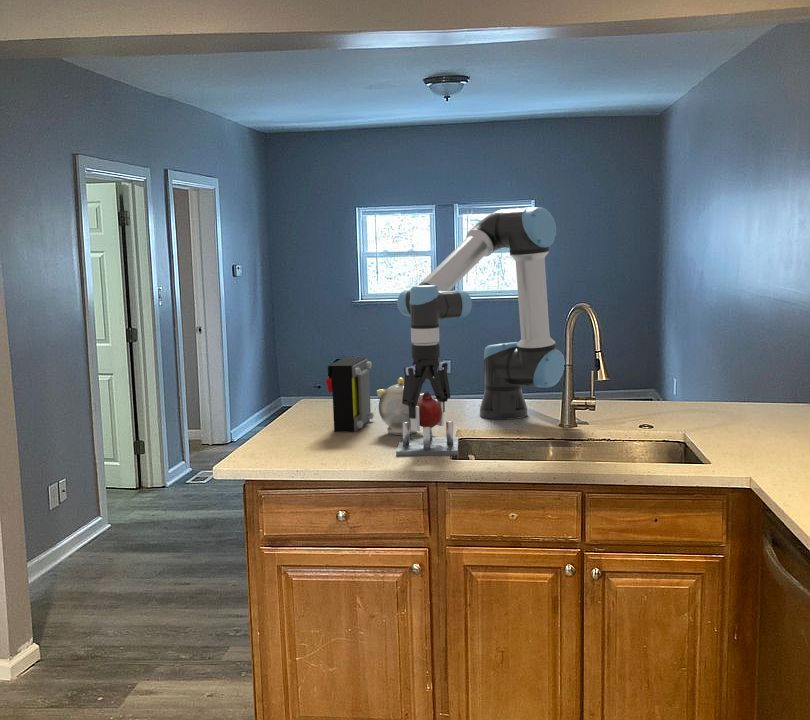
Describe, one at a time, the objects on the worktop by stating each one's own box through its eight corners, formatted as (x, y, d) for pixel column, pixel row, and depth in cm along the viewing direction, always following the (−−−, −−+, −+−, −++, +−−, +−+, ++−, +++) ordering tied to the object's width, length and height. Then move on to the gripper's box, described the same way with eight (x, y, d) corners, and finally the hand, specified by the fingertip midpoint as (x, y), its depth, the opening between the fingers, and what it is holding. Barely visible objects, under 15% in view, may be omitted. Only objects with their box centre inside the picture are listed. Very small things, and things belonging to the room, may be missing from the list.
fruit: (445, 425, 231) (444, 389, 229) (439, 432, 223) (438, 394, 222) (416, 425, 233) (415, 389, 231) (409, 431, 225) (408, 394, 223)
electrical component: (361, 432, 251) (358, 365, 249) (328, 431, 254) (325, 365, 251) (374, 420, 269) (372, 357, 266) (343, 419, 271) (341, 358, 268)
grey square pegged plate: (458, 441, 236) (457, 415, 235) (457, 455, 220) (456, 428, 219) (401, 442, 237) (400, 416, 236) (396, 455, 221) (395, 428, 220)
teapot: (372, 437, 244) (370, 381, 242) (382, 427, 257) (380, 374, 255) (434, 438, 240) (432, 381, 238) (441, 428, 254) (439, 374, 252)
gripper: (444, 339, 234) (445, 420, 237) (386, 346, 221) (388, 431, 224) (463, 341, 229) (464, 423, 232) (404, 348, 215) (407, 435, 218)
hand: (427, 427), depth 228 cm, fingers closed on fruit, 8 cm apart
